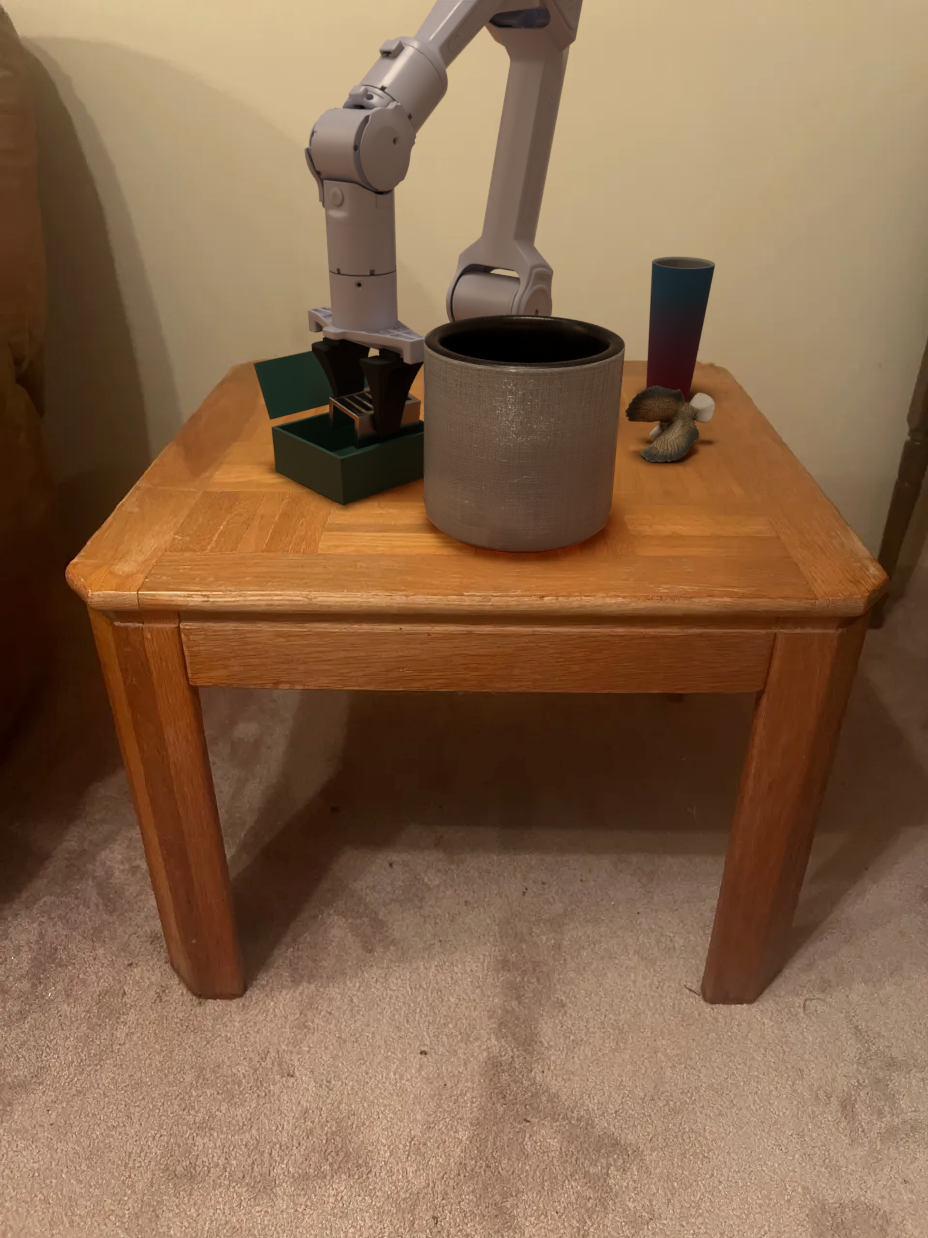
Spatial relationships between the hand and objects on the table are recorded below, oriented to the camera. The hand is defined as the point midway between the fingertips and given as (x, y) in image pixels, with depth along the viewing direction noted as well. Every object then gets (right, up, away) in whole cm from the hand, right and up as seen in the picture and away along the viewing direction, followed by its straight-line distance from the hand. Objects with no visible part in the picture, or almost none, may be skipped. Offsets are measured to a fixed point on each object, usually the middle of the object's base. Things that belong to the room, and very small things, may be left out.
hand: (369, 424), depth 87 cm
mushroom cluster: (+29, 0, +10) cm, 31 cm away
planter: (+13, -9, -5) cm, 17 cm away
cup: (+33, +8, +25) cm, 42 cm away
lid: (-6, +5, +4) cm, 9 cm away
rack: (0, 0, +1) cm, 1 cm away
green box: (-1, -4, +4) cm, 6 cm away
